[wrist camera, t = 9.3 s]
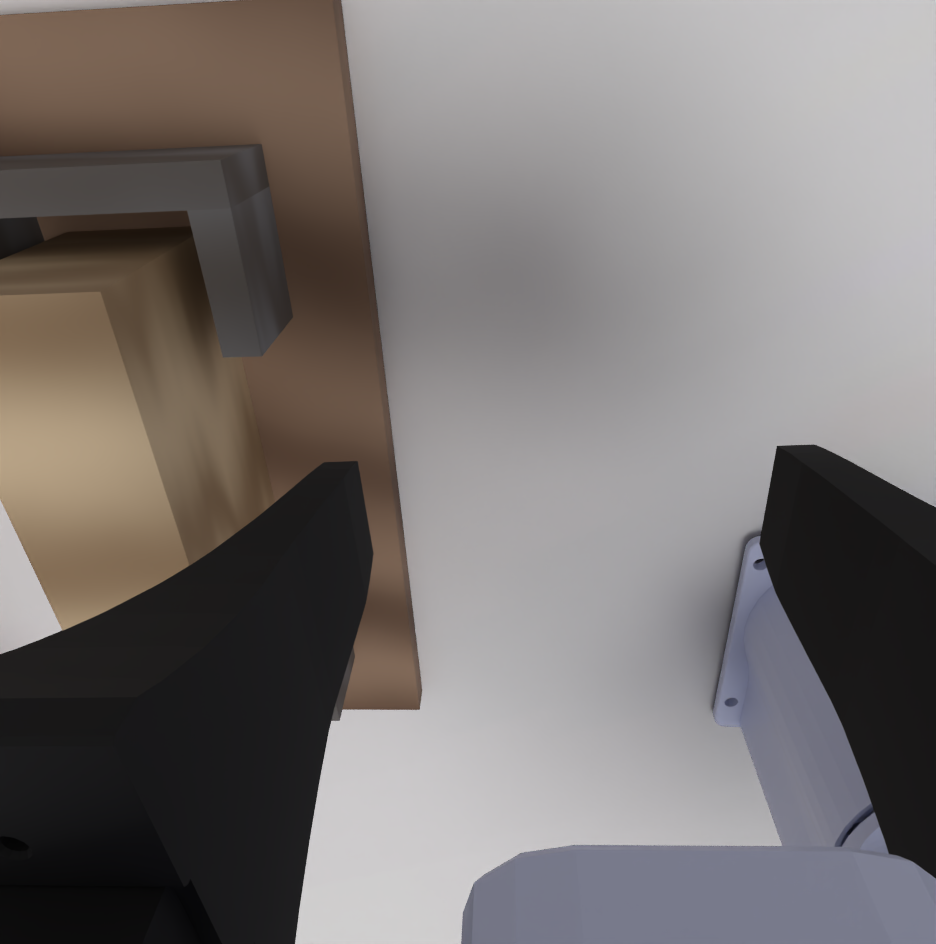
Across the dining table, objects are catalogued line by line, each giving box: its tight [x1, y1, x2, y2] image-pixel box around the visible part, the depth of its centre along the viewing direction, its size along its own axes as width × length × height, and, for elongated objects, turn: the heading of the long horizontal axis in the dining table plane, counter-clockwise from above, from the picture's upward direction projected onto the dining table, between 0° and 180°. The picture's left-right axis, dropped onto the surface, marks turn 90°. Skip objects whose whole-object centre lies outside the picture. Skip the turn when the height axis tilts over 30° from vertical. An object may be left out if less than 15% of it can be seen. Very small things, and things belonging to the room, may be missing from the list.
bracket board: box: [0, 0, 422, 721], centre depth 22 cm, size 24×12×4 cm, turn 3°
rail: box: [0, 226, 275, 630], centre depth 20 cm, size 14×4×6 cm, turn 3°
